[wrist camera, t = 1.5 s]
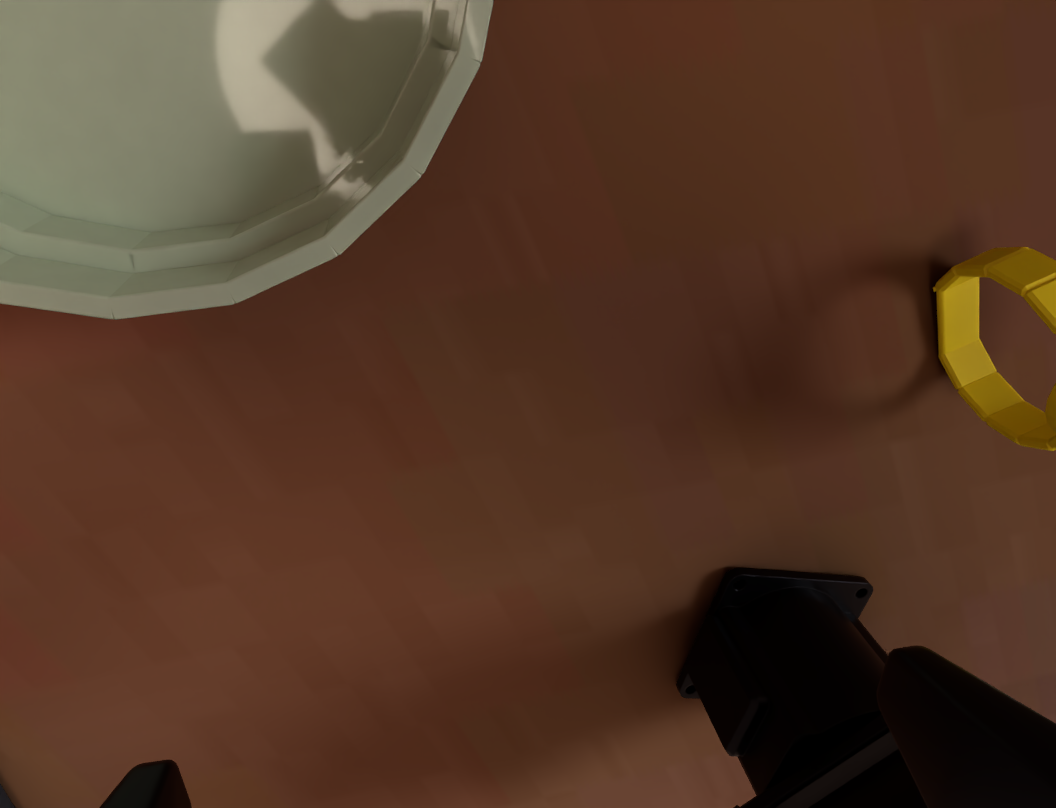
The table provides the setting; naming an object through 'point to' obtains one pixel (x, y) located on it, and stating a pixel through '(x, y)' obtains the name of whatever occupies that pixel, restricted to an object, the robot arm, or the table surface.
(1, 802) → the small box
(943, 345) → the watch
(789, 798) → the robot arm
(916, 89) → the table surface
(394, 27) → the bowl
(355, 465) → the table surface
